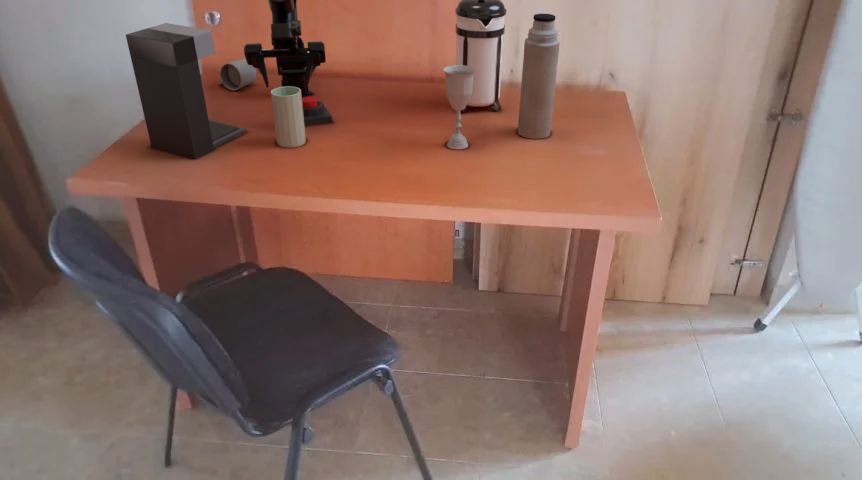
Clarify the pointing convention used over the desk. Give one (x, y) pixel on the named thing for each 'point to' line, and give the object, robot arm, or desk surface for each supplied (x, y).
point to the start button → (309, 102)
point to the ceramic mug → (237, 74)
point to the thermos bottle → (538, 78)
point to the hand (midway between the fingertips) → (287, 86)
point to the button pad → (317, 115)
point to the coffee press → (481, 47)
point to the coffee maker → (176, 89)
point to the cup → (288, 116)
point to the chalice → (458, 98)
